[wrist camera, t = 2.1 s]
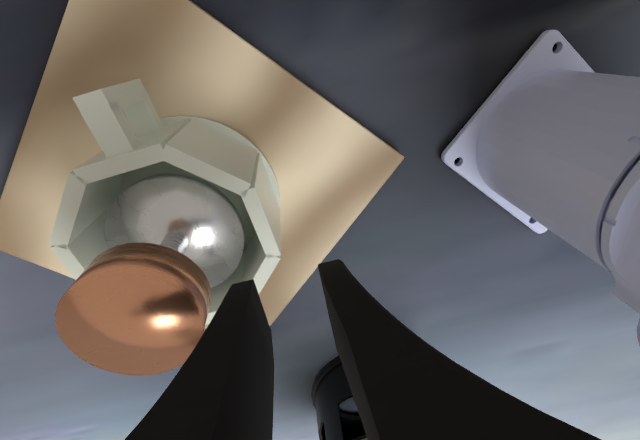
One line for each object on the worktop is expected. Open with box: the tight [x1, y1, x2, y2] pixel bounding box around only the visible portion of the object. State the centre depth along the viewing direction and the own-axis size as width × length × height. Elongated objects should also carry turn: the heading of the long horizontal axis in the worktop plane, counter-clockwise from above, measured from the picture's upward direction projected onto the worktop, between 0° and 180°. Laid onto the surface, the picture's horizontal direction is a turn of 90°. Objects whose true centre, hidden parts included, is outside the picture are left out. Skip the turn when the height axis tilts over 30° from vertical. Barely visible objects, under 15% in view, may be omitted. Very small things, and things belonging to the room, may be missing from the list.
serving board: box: [0, 0, 405, 329], centre depth 19 cm, size 16×16×1 cm
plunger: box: [55, 174, 245, 375], centre depth 13 cm, size 6×6×6 cm
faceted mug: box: [49, 78, 281, 325], centre depth 16 cm, size 11×9×5 cm
